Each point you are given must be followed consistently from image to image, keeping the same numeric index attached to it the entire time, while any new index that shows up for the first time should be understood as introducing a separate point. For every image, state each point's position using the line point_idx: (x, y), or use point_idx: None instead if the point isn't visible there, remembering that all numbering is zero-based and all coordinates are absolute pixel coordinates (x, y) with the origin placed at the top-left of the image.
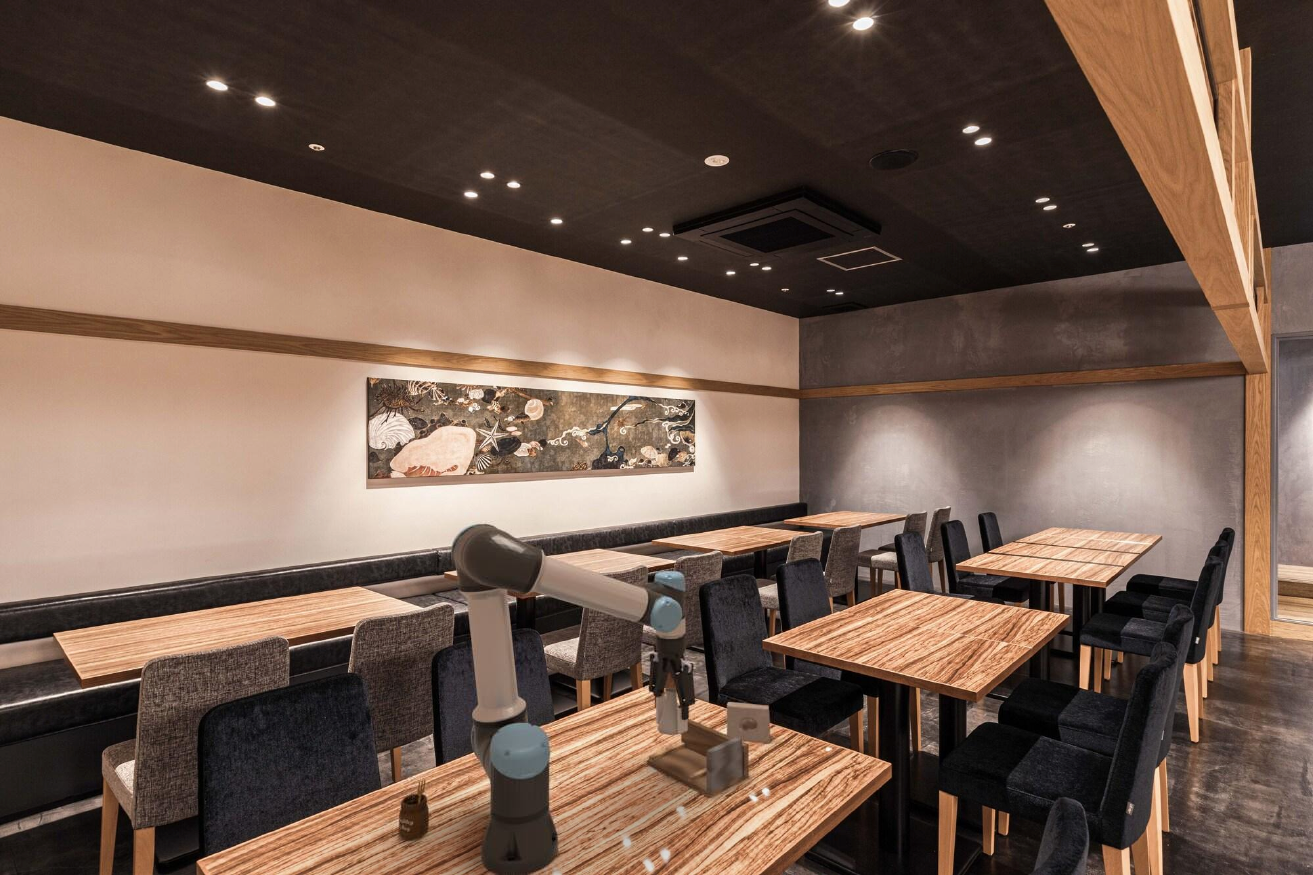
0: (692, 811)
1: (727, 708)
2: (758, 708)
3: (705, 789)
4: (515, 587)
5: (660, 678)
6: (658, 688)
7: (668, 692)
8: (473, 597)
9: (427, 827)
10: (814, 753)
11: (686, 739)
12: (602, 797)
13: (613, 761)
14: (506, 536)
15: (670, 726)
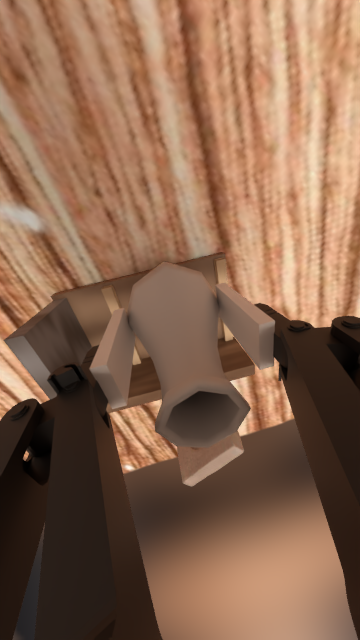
0: (12, 237)
1: (231, 441)
2: (194, 474)
3: (66, 295)
4: None
5: (346, 453)
6: (295, 362)
7: (179, 389)
8: None
9: None
10: (125, 454)
11: (224, 346)
12: (146, 49)
13: (276, 193)
14: None
15: (140, 297)
